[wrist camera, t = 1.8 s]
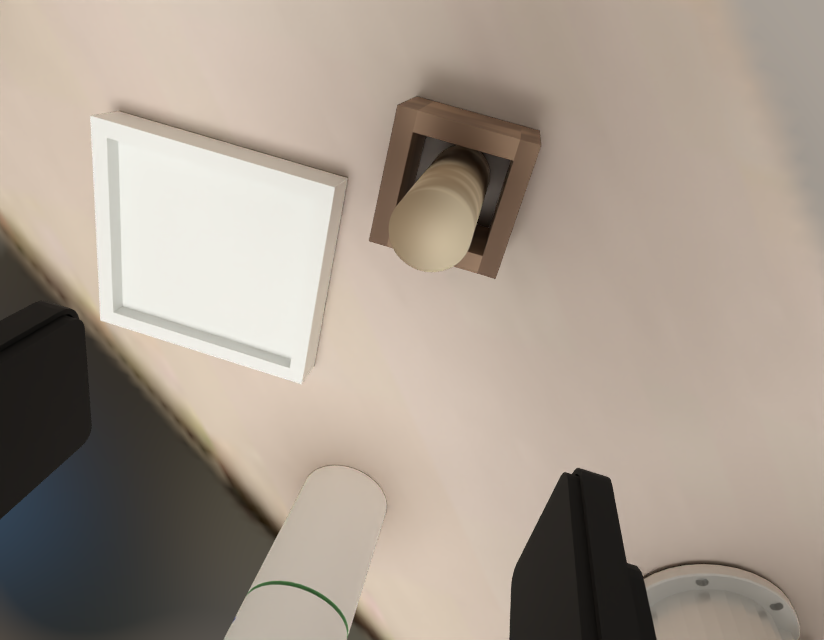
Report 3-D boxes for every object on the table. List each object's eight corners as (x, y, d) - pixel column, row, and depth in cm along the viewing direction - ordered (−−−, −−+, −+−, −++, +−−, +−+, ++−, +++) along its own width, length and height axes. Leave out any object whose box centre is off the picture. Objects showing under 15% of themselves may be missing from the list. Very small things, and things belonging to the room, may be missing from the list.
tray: (348, 178, 33) (334, 187, 31) (314, 365, 40) (301, 384, 37) (118, 111, 34) (90, 115, 32) (123, 305, 40) (100, 320, 38)
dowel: (497, 154, 31) (482, 204, 21) (480, 211, 32) (458, 282, 23) (439, 137, 31) (398, 179, 21) (425, 195, 32) (380, 258, 23)
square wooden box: (539, 130, 30) (541, 145, 25) (500, 247, 33) (495, 278, 29) (416, 96, 30) (397, 104, 26) (389, 215, 33) (369, 241, 29)
